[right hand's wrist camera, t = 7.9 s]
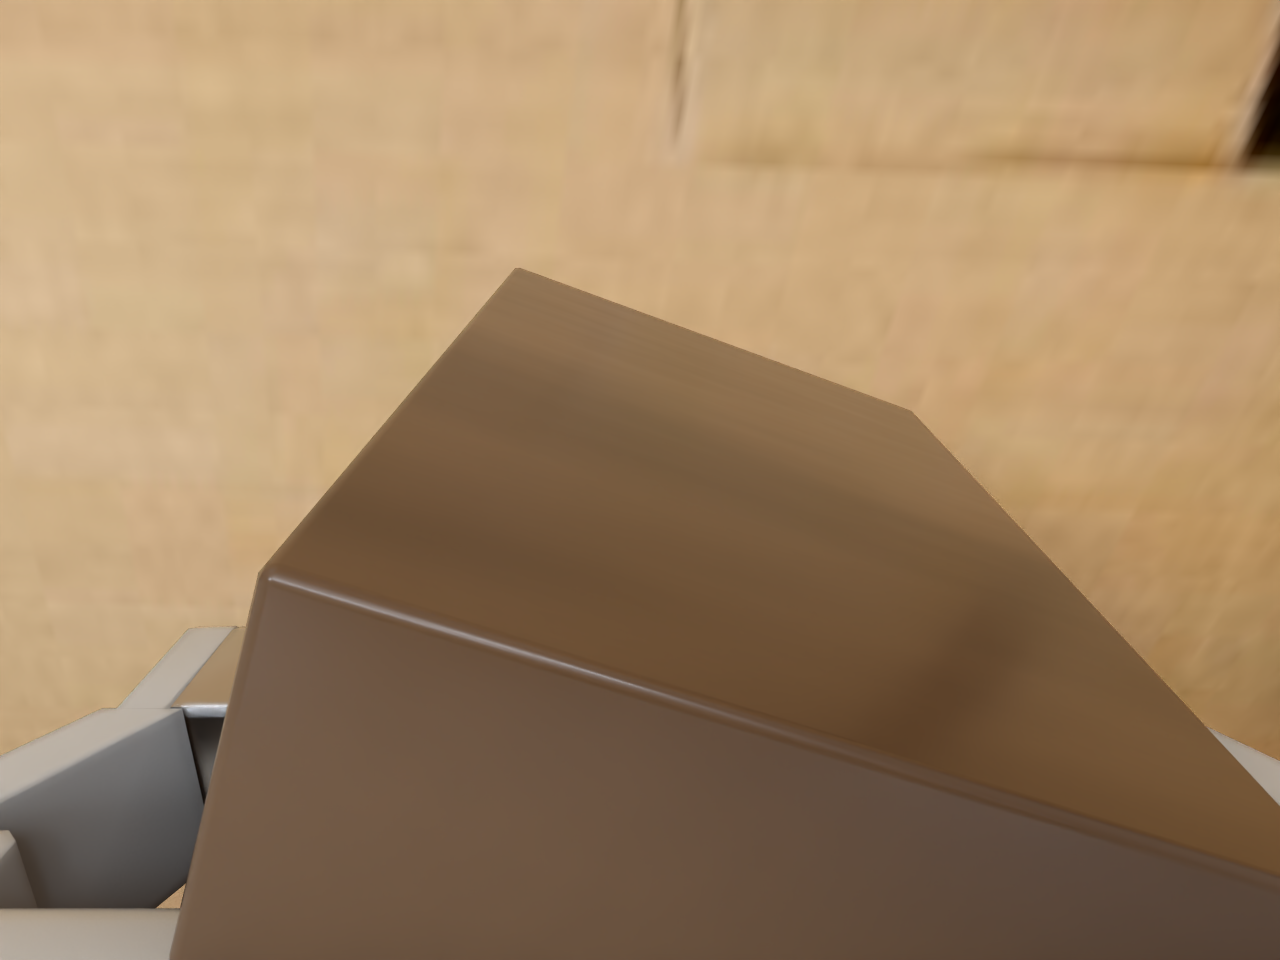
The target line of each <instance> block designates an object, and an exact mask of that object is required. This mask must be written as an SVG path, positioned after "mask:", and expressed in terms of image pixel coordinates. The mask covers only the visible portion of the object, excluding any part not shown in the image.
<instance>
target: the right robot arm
mask: <svg viewBox="0 0 1280 960" xmlns="http://www.w3.org/2000/svg"><path fill="white" fill-rule="evenodd" d="M245 629H246V627H240V628H239V627H237V626H213V627H195V628H190V629H188V630H187V631H186V632H185V633H184V634H183V635H182V636H181V637H180V639H179V640H178V641H177V642H176V643H175V644H174V645H173V646H172V647H171V649H170V650H169V651H168V652H167V653H166V654H165V655H164V656H163V657H162V659H161V660H160V661H159V662H158V663H157V664H156V665H155V666H154V667H153V669H152V670H151V671H150V672H149V673H148V674H147V675H146V676H145V677H144V679H143V680H142V681H141V682H140V683H139V684H138V685H137V686H136V687H135V689H134V690H133V691H132V692H131V693H130V694H129V695H128V696H127V697H126V699H125V700H124V701H123V702H122V703H121V704H120V705H119V706H118V707H117V708H102V709H100V710H98V711H96V712H93V713H91V714H89V715H87V716H85V717H83V718H80V719H78V720H76V721H74V722H72V723H70V724H68V725H65V726H63V727H61V728H59V729H57V730H55V731H52V732H50V733H48V734H46V735H44V736H42V737H40V738H37V739H35V740H33V741H31V742H29V743H27V744H25V745H22V746H20V747H18V748H16V749H14V750H12V751H9V752H7V753H5V754H3V755H1V756H0V960H169V954H170V950H171V945H172V941H173V937H174V933H175V928H176V924H177V920H178V915H179V911H180V908H156V907H157V906H159V905H160V904H161V903H162V902H163V901H165V900H166V899H167V898H168V897H170V896H171V895H172V894H173V893H174V892H176V891H177V890H178V889H179V888H181V887H182V886H183V885H184V884H185V883H186V881H187V877H188V873H189V868H190V864H191V860H192V855H193V851H194V847H195V843H196V838H197V834H198V830H199V826H200V821H201V817H202V813H203V808H204V804H205V800H206V796H207V791H208V787H209V783H210V778H211V774H212V770H213V766H214V761H215V757H216V753H217V748H218V744H219V740H220V736H221V731H222V727H223V723H224V718H225V714H226V710H227V706H228V701H229V697H230V693H231V688H232V684H233V680H234V676H235V671H236V667H237V663H238V658H239V654H240V650H241V646H242V641H243V637H244V633H245ZM1207 728H1208V729H1209V730H1210V732H1211V733H1212V734H1213V735H1214V736H1215V737H1216V738H1217V739H1218V740H1219V741H1220V742H1221V743H1222V744H1223V745H1224V747H1225V748H1226V749H1227V750H1228V751H1229V752H1230V753H1231V754H1232V755H1233V756H1234V757H1235V758H1236V759H1237V760H1238V762H1239V763H1240V764H1241V765H1242V766H1243V767H1244V768H1245V769H1246V770H1247V771H1248V772H1249V773H1250V774H1251V776H1252V777H1253V778H1254V779H1255V780H1256V781H1257V782H1258V783H1259V784H1260V785H1261V786H1262V787H1263V788H1264V789H1265V791H1266V792H1267V793H1268V794H1269V795H1270V796H1271V797H1272V798H1273V799H1274V800H1275V801H1276V802H1277V803H1278V804H1279V806H1280V761H1279V760H1277V759H1274V758H1272V757H1270V756H1268V755H1266V754H1264V753H1262V752H1260V751H1257V750H1255V749H1253V748H1251V747H1249V746H1247V745H1245V744H1243V743H1240V742H1238V741H1236V740H1234V739H1232V738H1230V737H1228V736H1226V735H1223V734H1221V733H1219V732H1217V731H1215V730H1213V729H1211V728H1209V727H1207Z"/></svg>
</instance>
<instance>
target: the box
mask: <svg viewBox="0 0 1280 960" xmlns="http://www.w3.org/2000/svg"><path fill="white" fill-rule="evenodd" d="M169 960H1280V806H1279V804H1278V803H1277V802H1276V801H1275V800H1274V799H1273V798H1272V797H1271V796H1270V795H1269V794H1268V793H1267V792H1266V791H1265V789H1264V788H1263V787H1262V786H1261V785H1260V784H1259V783H1258V782H1257V781H1256V780H1255V779H1254V778H1253V777H1252V776H1251V774H1250V773H1249V772H1248V771H1247V770H1246V769H1245V768H1244V767H1243V766H1242V765H1241V764H1240V763H1239V762H1238V760H1237V759H1236V758H1235V757H1234V756H1233V755H1232V754H1231V753H1230V752H1229V751H1228V750H1227V749H1226V748H1225V747H1224V745H1223V744H1222V743H1221V742H1220V741H1219V740H1218V739H1217V738H1216V737H1215V736H1214V735H1213V734H1212V733H1211V732H1210V730H1209V729H1208V728H1207V727H1206V726H1205V725H1204V724H1203V723H1202V722H1201V721H1200V720H1199V719H1198V718H1197V717H1196V715H1195V714H1194V713H1193V712H1192V711H1191V710H1190V709H1189V708H1188V707H1187V706H1186V705H1185V704H1184V703H1183V702H1182V700H1181V699H1180V698H1179V697H1178V696H1177V695H1176V694H1175V693H1174V692H1173V691H1172V690H1171V689H1170V688H1169V687H1168V685H1167V684H1166V683H1165V682H1164V681H1163V680H1162V679H1161V678H1160V677H1159V676H1158V675H1157V674H1156V673H1155V672H1154V670H1153V669H1152V668H1151V667H1150V666H1149V665H1148V664H1147V663H1146V662H1145V661H1144V660H1143V659H1142V658H1141V657H1140V655H1139V654H1138V653H1137V652H1136V651H1135V650H1134V649H1133V648H1132V647H1131V646H1130V645H1129V644H1128V643H1127V642H1126V640H1125V639H1124V638H1123V637H1122V636H1121V635H1120V634H1119V633H1118V632H1117V631H1116V630H1115V629H1114V628H1113V627H1112V625H1111V624H1110V623H1109V622H1108V621H1107V620H1106V619H1105V618H1104V617H1103V616H1102V615H1101V614H1100V613H1099V612H1098V610H1097V609H1096V608H1095V607H1094V606H1093V605H1092V604H1091V603H1090V602H1089V601H1088V600H1087V599H1086V598H1085V596H1084V595H1083V594H1082V593H1081V592H1080V591H1079V590H1078V589H1077V588H1076V587H1075V586H1074V585H1073V584H1072V583H1071V581H1070V580H1069V579H1068V578H1067V577H1066V576H1065V575H1064V574H1063V573H1062V572H1061V571H1060V570H1059V569H1058V568H1057V566H1056V565H1055V564H1054V563H1053V562H1052V561H1051V560H1050V559H1049V558H1048V557H1047V556H1046V555H1045V554H1044V553H1043V551H1042V550H1041V549H1040V548H1039V547H1038V546H1037V545H1036V544H1035V543H1034V542H1033V541H1032V540H1031V539H1030V538H1029V536H1028V535H1027V534H1026V533H1025V532H1024V531H1023V530H1022V529H1021V528H1020V527H1019V526H1018V525H1017V524H1016V523H1015V521H1014V520H1013V519H1012V518H1011V517H1010V516H1009V515H1008V514H1007V513H1006V512H1005V511H1004V510H1003V509H1002V508H1001V506H1000V505H999V504H998V503H997V502H996V501H995V500H994V499H993V498H992V497H991V496H990V495H989V494H988V493H987V491H986V490H985V489H984V488H983V487H982V486H981V485H980V484H979V483H978V482H977V481H976V480H975V479H974V478H973V476H972V475H971V474H970V473H969V472H968V471H967V470H966V469H965V468H964V467H963V466H962V465H961V464H960V463H959V461H958V460H957V459H956V458H955V457H954V456H953V455H952V454H951V453H950V452H949V451H948V450H947V449H946V448H945V446H944V445H943V444H942V443H941V442H940V441H939V440H938V439H937V438H936V437H935V436H934V435H933V434H932V433H931V431H930V430H929V429H928V428H927V427H926V426H925V425H924V424H923V423H922V422H921V421H920V420H919V419H918V417H917V416H916V415H915V414H914V413H913V412H912V411H910V410H907V409H904V408H902V407H899V406H896V405H894V404H891V403H888V402H885V401H883V400H880V399H877V398H874V397H872V396H869V395H866V394H863V393H861V392H858V391H855V390H852V389H850V388H847V387H844V386H842V385H839V384H836V383H833V382H831V381H828V380H825V379H822V378H820V377H817V376H814V375H811V374H809V373H806V372H803V371H800V370H798V369H795V368H792V367H789V366H787V365H784V364H781V363H779V362H776V361H773V360H770V359H768V358H765V357H762V356H759V355H757V354H754V353H751V352H748V351H746V350H743V349H740V348H737V347H735V346H732V345H729V344H727V343H724V342H721V341H718V340H716V339H713V338H710V337H707V336H705V335H702V334H699V333H696V332H694V331H691V330H688V329H685V328H683V327H680V326H677V325H675V324H672V323H669V322H666V321H664V320H661V319H658V318H655V317H653V316H650V315H647V314H644V313H642V312H639V311H636V310H633V309H631V308H628V307H625V306H622V305H620V304H617V303H614V302H612V301H609V300H606V299H603V298H601V297H598V296H595V295H592V294H590V293H587V292H584V291H581V290H579V289H576V288H573V287H570V286H568V285H565V284H562V283H560V282H557V281H554V280H551V279H549V278H546V277H543V276H540V275H538V274H535V273H532V272H529V271H527V270H524V269H521V268H515V269H514V270H513V272H512V273H511V274H510V275H509V276H508V278H507V279H506V280H505V281H504V282H503V283H502V285H501V286H500V287H499V288H498V289H497V291H496V292H495V293H494V294H493V295H492V296H491V298H490V299H489V300H488V301H487V302H486V304H485V305H484V306H483V307H482V308H481V310H480V311H479V312H478V313H477V314H476V315H475V317H474V318H473V319H472V320H471V321H470V323H469V324H468V325H467V326H466V327H465V328H464V330H463V331H462V332H461V333H460V334H459V336H458V337H457V338H456V339H455V340H454V342H453V343H452V344H451V345H450V346H449V347H448V349H447V350H446V351H445V352H444V353H443V355H442V356H441V357H440V358H439V359H438V361H437V362H436V363H435V364H434V365H433V366H432V368H431V369H430V370H429V371H428V372H427V374H426V375H425V376H424V377H423V378H422V379H421V381H420V382H419V383H418V384H417V385H416V387H415V388H414V389H413V390H412V391H411V393H410V394H409V395H408V396H407V397H406V398H405V400H404V401H403V402H402V403H401V404H400V406H399V407H398V408H397V409H396V410H395V412H394V413H393V414H392V415H391V416H390V417H389V419H388V420H387V421H386V422H385V423H384V425H383V426H382V427H381V428H380V429H379V430H378V432H377V433H376V434H375V435H374V436H373V438H372V439H371V440H370V441H369V442H368V444H367V445H366V446H365V447H364V448H363V449H362V451H361V452H360V453H359V454H358V455H357V457H356V458H355V459H354V460H353V461H352V462H351V464H350V465H349V466H348V467H347V468H346V470H345V471H344V472H343V473H342V474H341V476H340V477H339V478H338V479H337V480H336V481H335V483H334V484H333V485H332V486H331V487H330V489H329V490H328V491H327V492H326V493H325V495H324V496H323V497H322V498H321V499H320V500H319V502H318V503H317V504H316V505H315V506H314V508H313V509H312V510H311V511H310V512H309V513H308V515H307V516H306V517H305V518H304V519H303V521H302V522H301V523H300V524H299V525H298V527H297V528H296V529H295V530H294V531H293V532H292V534H291V535H290V536H289V537H288V538H287V540H286V541H285V542H284V543H283V544H282V546H281V547H280V548H279V549H278V550H277V551H276V553H275V554H274V555H273V556H272V557H271V559H270V560H269V561H268V562H267V563H266V564H265V566H264V567H263V568H262V569H261V570H260V572H259V573H258V577H257V581H256V586H255V590H254V594H253V599H252V603H251V607H250V611H249V616H248V620H247V624H246V629H245V633H244V637H243V641H242V646H241V650H240V654H239V658H238V663H237V667H236V671H235V676H234V680H233V684H232V688H231V693H230V697H229V701H228V706H227V710H226V714H225V718H224V723H223V727H222V731H221V736H220V740H219V744H218V748H217V753H216V757H215V761H214V766H213V770H212V774H211V778H210V783H209V787H208V791H207V796H206V800H205V804H204V808H203V813H202V817H201V821H200V826H199V830H198V834H197V838H196V843H195V847H194V851H193V855H192V860H191V864H190V868H189V873H188V877H187V881H186V885H185V890H184V894H183V898H182V903H181V907H180V911H179V915H178V920H177V924H176V928H175V933H174V937H173V941H172V945H171V950H170V954H169Z"/></svg>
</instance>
